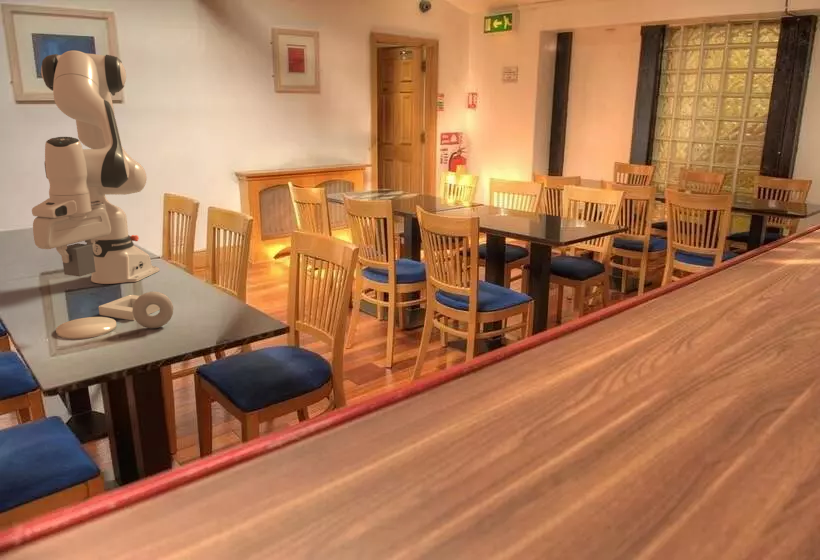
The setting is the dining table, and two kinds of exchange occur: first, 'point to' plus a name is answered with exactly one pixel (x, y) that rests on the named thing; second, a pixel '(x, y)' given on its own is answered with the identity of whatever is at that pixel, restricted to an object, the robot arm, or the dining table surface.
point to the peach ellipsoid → (86, 327)
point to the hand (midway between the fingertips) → (78, 259)
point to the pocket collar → (123, 308)
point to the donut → (150, 299)
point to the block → (80, 260)
